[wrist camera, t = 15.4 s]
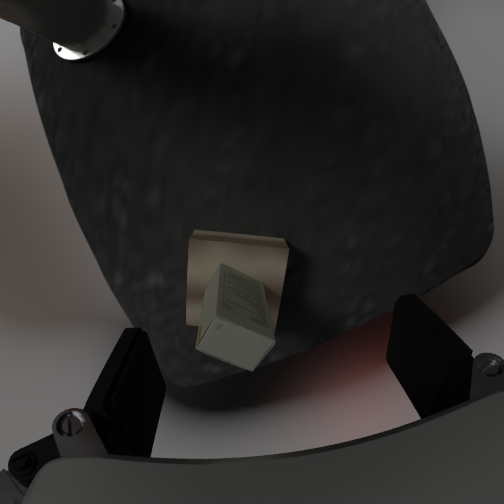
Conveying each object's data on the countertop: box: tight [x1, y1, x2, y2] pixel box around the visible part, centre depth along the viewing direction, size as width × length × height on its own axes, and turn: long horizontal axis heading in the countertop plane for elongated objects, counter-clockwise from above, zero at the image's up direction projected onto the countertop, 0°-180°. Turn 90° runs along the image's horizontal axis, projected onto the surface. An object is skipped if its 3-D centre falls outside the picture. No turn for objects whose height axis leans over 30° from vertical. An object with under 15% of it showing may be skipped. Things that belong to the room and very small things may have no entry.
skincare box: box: [196, 263, 276, 371], centre depth 31 cm, size 6×4×12 cm
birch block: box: [186, 230, 289, 333], centre depth 39 cm, size 12×12×5 cm
